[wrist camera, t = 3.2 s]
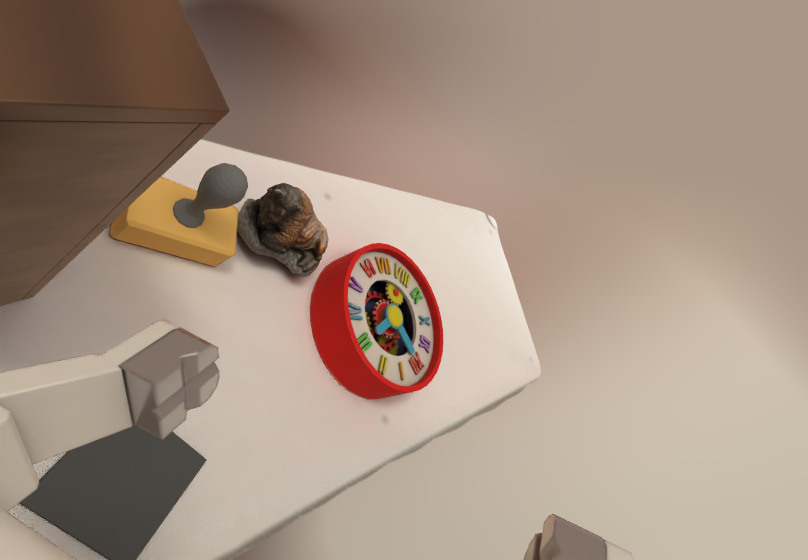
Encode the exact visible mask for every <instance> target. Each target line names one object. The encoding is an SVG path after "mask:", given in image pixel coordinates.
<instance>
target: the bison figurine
mask: <svg viewBox="0 0 808 560" xmlns="http://www.w3.org/2000/svg"><path fill="white" fill-rule="evenodd" d="M267 191H268V192H267V193H266V194H265V195H264V196H262V197H261V199H257V200H256V201H255V200H254V199H248V200H247V201H246V202H245V203H244V205H243V207H242V209H241V211H240V212H239V214H238V219H237V231H238V233H239V234H240V236H241V237H242V239H243V240H244V241H245V243H246V244H247V246H248V247H249V248H250V249H251V250H252V251H253V252H254V253H256V254H259V255H265V256H269V257H272V258H275V259H277V260H278V261H279V262H281V263H283V264H284V265H286V266H287V267H288V268H289V269H290V271H291V273H293V274H299V275H303V276H309V275H310V274H311V273H312V272H313V271H314V270H315V269H316V268H317V266H318V265H319V262H320V260H321V259H322V254H323V253H324V252H325V250H326V248H327V243H328V236H327V231H326V228H325V227H324V226H323V225H322V223H321V222H320V221H318V219H317V218H316V215H315V213H314V211H313V207H312V204H311V201H310V199H309V198H308V196H307V195H306V194H305V193H304V192H303V191H302V190H301V189H299V188H297V187H293V186H291V185H289V184H285V183H281V184H278V185H275V186H273V187H271V188H269V189H268V190H267Z"/></svg>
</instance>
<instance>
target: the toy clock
mask: <svg viewBox="0 0 808 560" xmlns="http://www.w3.org/2000/svg"><path fill="white" fill-rule="evenodd" d="M310 315H311V326H312V332H313V337H314V340H315V343H316V346H317V349H318V352H319V354H320V356H321V358H322V360H323V362H324V364H325V365H326V367H327V369H328V370H329V372H330V373H331V375H332V376H333V377H334V378H335V379H336V380H337V381H338V382H339V384H341V385H342V386H343V387H344V388H346V389H347V390H348V391H349V392H351V393H353V394H355V395H357V396H359V397H363V398H366V399H380V398H385V397H390V396H395V395H400V394H405V393H409V392H414V391H418V390H420V389H422V388H424V387H425V386H427V385H428V384H429V383H430V382H431V381H432V379H433V378H434V376H435V374H436V373H437V370H438V368H439V365H440V362H441V357H442V352H443V328H442V321H441V316H440V312H439V308H438V305H437V302H436V299H435V296H434V294H433V291H432V289H431V287H430V285H429V283H428V281H427V280H426V278H425V276H424V275H423V273H422V272H421V270H420V269H419V268H418V266H417V265H416V264H415V263H414V262H413V261H412V260H411V259H410V258H409V257H408V256H407V255H406V254H405V253H403V252H402V251H400V250H399V249H397V248H395V247H393V246H390V245H388V244H382V243H375V244H370V245H367V246H365V247H363V248H361V249H358V250H356V251H354V252H352V253H350V254H348V255H346V256H343V257H341V258H339V259H337V260H335V261H333V262H332V263H330V264H329V265H327V266H326V267H325V268H324V270H323V271H322V272H321V273H320V275H319V277H318V279H317V281H316V283H315V286H314V289H313V292H312V297H311V306H310Z"/></svg>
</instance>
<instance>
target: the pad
mask: <svg viewBox="0 0 808 560" xmlns="http://www.w3.org/2000/svg"><path fill="white" fill-rule="evenodd" d="M132 425H133V426H132V427H130V428H127V429H124V430H122V431H119V432H116V433H114V434H111V435H109V436H106V437H103V438H101V439H98V440H96V441H93V442H90V443H88V444H85V445H82V446H80V447H77V448H75V449H72V450H69V451H68V452H67V453H66V454H65V455H64V456H63V457H62V458H61V459H60V460H59V461H58V462H57V463H56V464H55V465H54V466H53V467H52V468H51V469H50V470H49V471H48V472H47V473H46V474H45V475H44V476H43V477H42V478H41V479H40V480H39V481H40V482H39V485H38V488H37V489H36V490H35V491H34V492H32V493H31V494H30V495H28V496H27V497H26V498H25V499H23V500H22V501H21V502H20V504H22V505H23V506H25V507H26V508H28V509H30V510H31V511H33V512H34V513H36V514H38V515H39V516H41V517H42V518H44V519H45V520H47V521H49V522H50V523H52V524H53V525H55V526H57V527H58V528H60V529H61V530H63V531H64V532H66V533H68V534H69V535H71V536H72V537H74V538H76V539H77V540H79V541H80V542H82V543H83V544H85V545H87V546H88V547H90V548H91V549H93V550H95V551H96V552H98V553H99V554H101V555H102V556H104V557H106V558H107V559H109V560H136V559H137V557H138V556H139V554H140V553H141V552H142V550H143V549H144V547H145V546H146V545H147V543H148V542H149V540H150V539H151V538H152V536H153V535H154V533H155V532H156V530H157V529H158V528H159V526H160V525H161V523H162V522H163V521H164V519H165V518H166V516H167V515H168V514H169V512H170V511H171V509H172V508H173V507H174V505H175V504H176V502H177V501H178V500H179V498H180V497H181V495H182V494H183V492H184V491H185V490H186V488H187V487H188V485H189V484H190V483H191V481H192V480H193V478H194V477H195V476H196V474H197V473H198V471H199V470H200V469H201V467H202V466H203V464H204V463H205V461H206V459H205V458H204V457H203V456H201V455H200V454H199V453H198V452H197V451H195V450H194V449H193V448H192V447H190V446H189V445H188V444H187V443H186V442H184V441H183V440H182V439H181V438H179V437H178V436H177V435H176V434H175V433H173V432H171V433H170V434H169V435H167V436H166V437H165V438H164V439H163V440H162V439H160V438H158V437H156V436H154V435H152V434H150V433H149V432H147V431H145V430H143V429H141V428H139V427H137V426H135V425H134V424H132Z"/></svg>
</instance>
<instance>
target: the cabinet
mask: <svg viewBox="0 0 808 560" xmlns="http://www.w3.org/2000/svg"><path fill="white" fill-rule="evenodd" d="M228 112H229V108H228V106H227V104H226V101H225V99H224V97H223V95H222V93H221V91H220V88H219V86H218V84H217V82H216V80H215V78H214V75H213V73H212V71H211V69H210V67H209V64H208V62H207V60H206V58H205V56H204V54H203V51H202V49H201V47H200V45H199V43H198V41H197V38H196V36H195V34H194V32H193V30H192V28H191V26H190V23H189V21H188V19H187V17H186V15H185V13H184V10H183V8H182V6H181V4H180V2H179V0H0V306H1V305H4V304H8V303H12V302H16V301H20V300H23V299H27V298H31V297H33V296H34V295H35V294H36V293H38V292H39V291H40V290H41V289H42V288H43V287H44V286H45V285H46V284H47V283H48V282H49V281H50V280H51V279H52V278H53V277H55V276H56V275H57V274H58V273H59V272H60V271H61V270H62V269H63V268H64V267H65V266H66V265H67V264H68V263H69V262H70V261H72V260H73V259H74V258H75V257H76V256H77V255H78V254H79V253H80V252H81V251H82V250H83V249H84V248H85V247H86V246H87V245H89V244H90V243H91V242H92V241H93V240H94V239H95V238H96V237H97V236H98V235H99V234H100V233H101V232H102V231H103V230H104V229H106V228H107V227H108V226H109V225H110V224H111V223H112V222H113V221H114V220H115V219H116V218H117V217H118V216H119V215H120V214H121V213H123V212H124V211H125V210H126V209H127V208H128V207H129V206H130V205H131V204H132V203H133V202H134V201H135V200H136V199H137V198H138V197H140V196H141V195H142V194H143V193H144V192H145V191H146V190H147V189H148V188H149V187H150V186H151V185H152V184H153V183H154V182H155V181H157V180H158V179H159V178H160V177H161V176H162V175H163V174H164V173H165V172H166V171H167V170H168V169H169V168H170V167H171V166H172V165H174V164H175V163H176V162H177V161H178V160H179V159H180V158H181V157H182V156H183V155H184V154H185V153H186V152H187V151H188V150H189V149H191V148H192V147H193V146H194V145H195V144H196V143H197V142H198V141H199V140H200V139H201V138H202V137H203V136H204V135H205V134H206V133H207V132H208V131H210V130H211V129H212V128H213V127H214V126H215V125H216V124H217V123H218V122H219V121H220V120H221V119H222V118H223V117H224V116H225V115H226V114H227V113H228Z"/></svg>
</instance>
